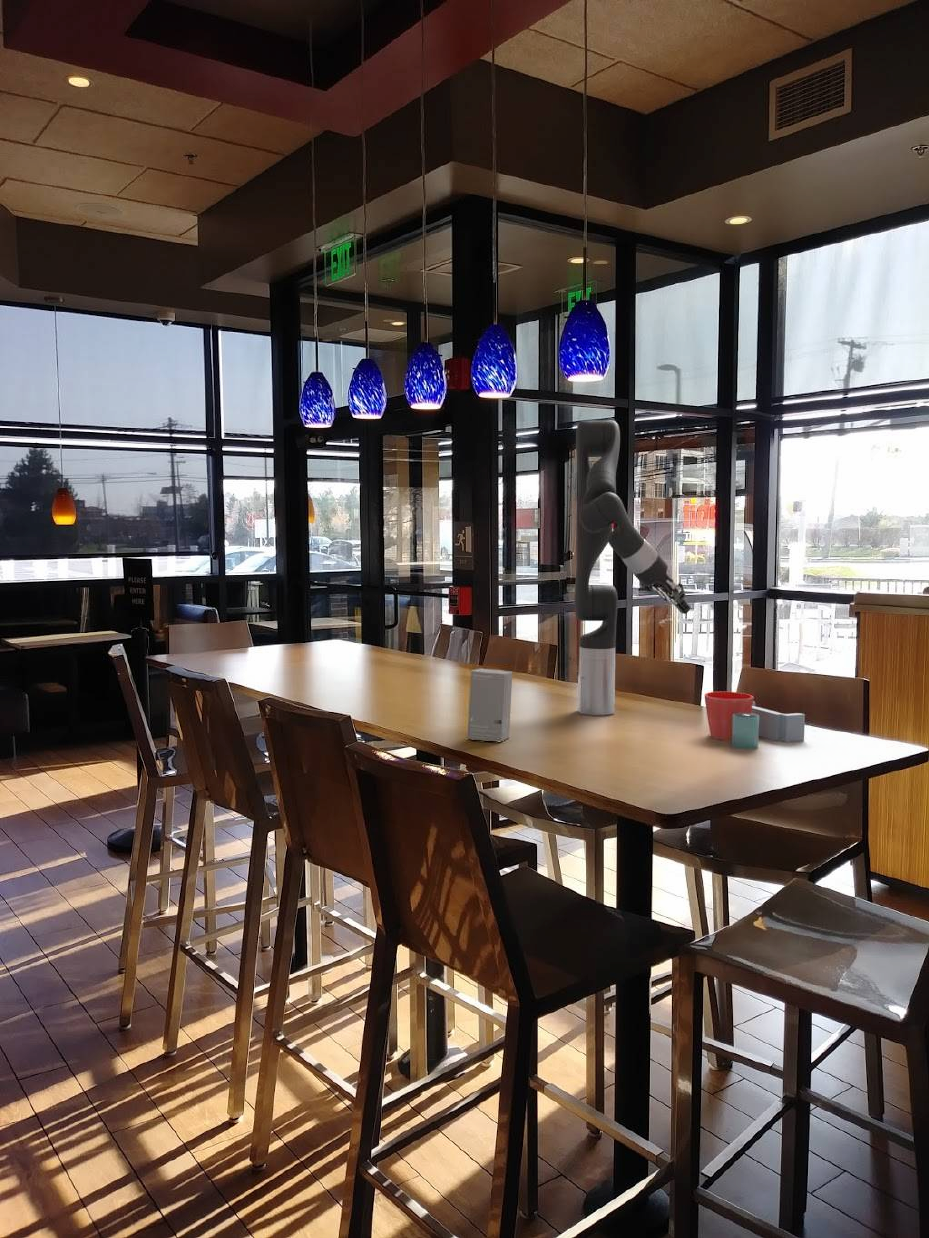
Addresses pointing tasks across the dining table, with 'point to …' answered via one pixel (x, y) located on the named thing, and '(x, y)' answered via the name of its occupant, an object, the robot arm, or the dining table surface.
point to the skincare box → (489, 705)
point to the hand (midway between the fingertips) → (686, 611)
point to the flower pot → (725, 711)
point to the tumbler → (745, 730)
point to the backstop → (780, 725)
